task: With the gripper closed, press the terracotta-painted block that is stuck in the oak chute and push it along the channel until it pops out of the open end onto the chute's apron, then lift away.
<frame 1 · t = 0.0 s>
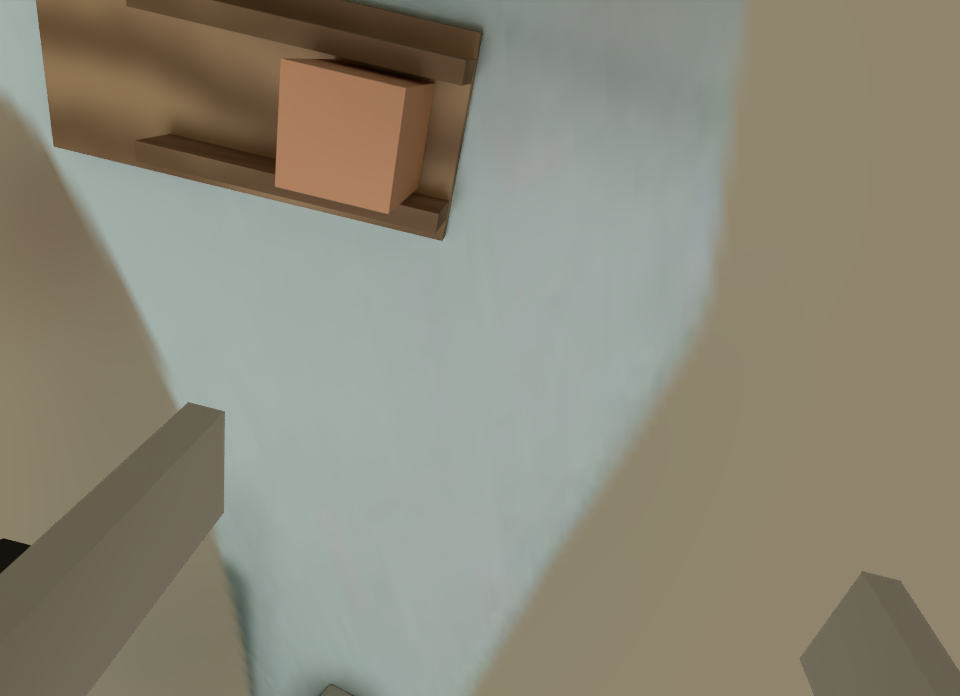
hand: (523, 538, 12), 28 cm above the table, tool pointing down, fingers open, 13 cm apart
chute: (256, 93, 36), on the table
block: (359, 132, 32), point 5 cm above the table, slide at 0.0 cm
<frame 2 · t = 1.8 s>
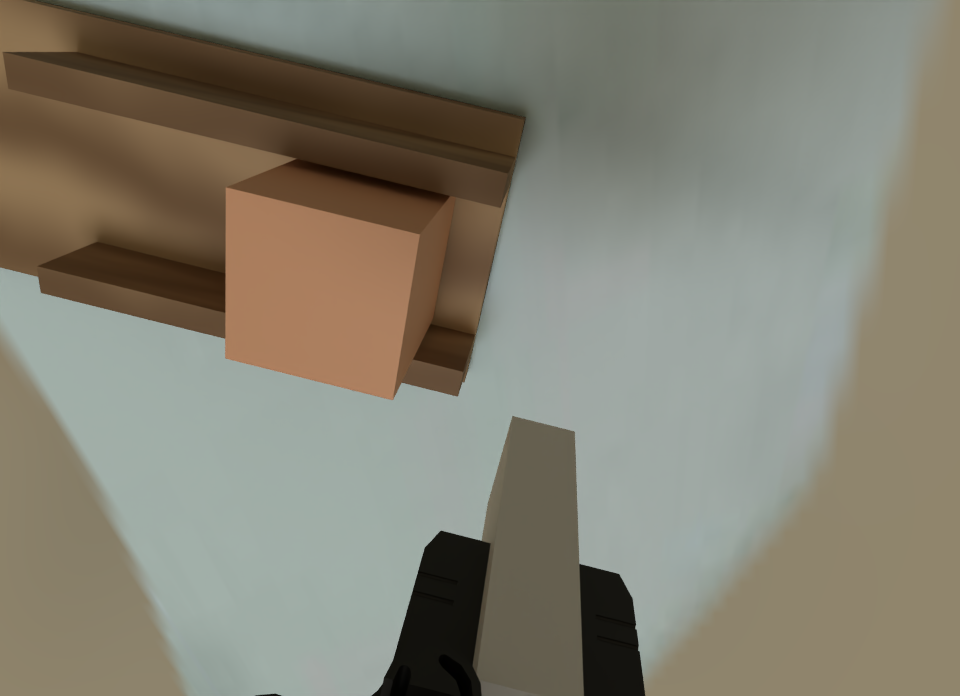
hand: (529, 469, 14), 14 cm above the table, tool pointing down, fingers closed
chute: (212, 189, 26), on the table
block: (350, 266, 22), point 5 cm above the table, slide at 0.0 cm
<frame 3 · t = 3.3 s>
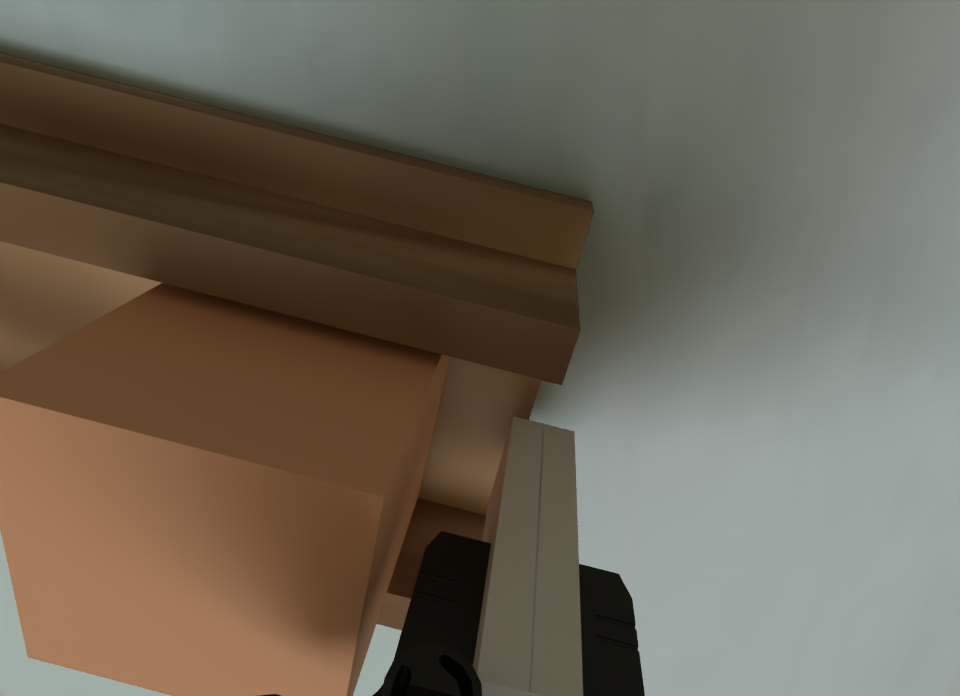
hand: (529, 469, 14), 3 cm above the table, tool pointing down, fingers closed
chute: (92, 295, 17), on the table
block: (273, 458, 13), point 5 cm above the table, slide at 0.4 cm, touching gripper
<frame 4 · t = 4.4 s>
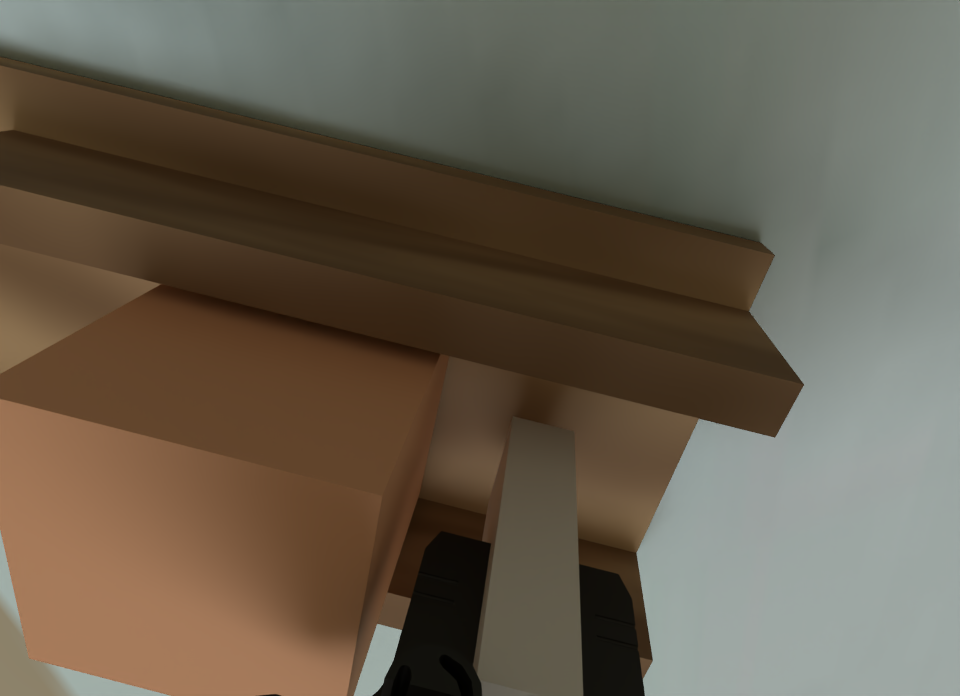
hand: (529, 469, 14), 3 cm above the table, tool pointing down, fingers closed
chute: (232, 332, 17), on the table
block: (273, 459, 13), point 5 cm above the table, slide at 4.6 cm, touching gripper
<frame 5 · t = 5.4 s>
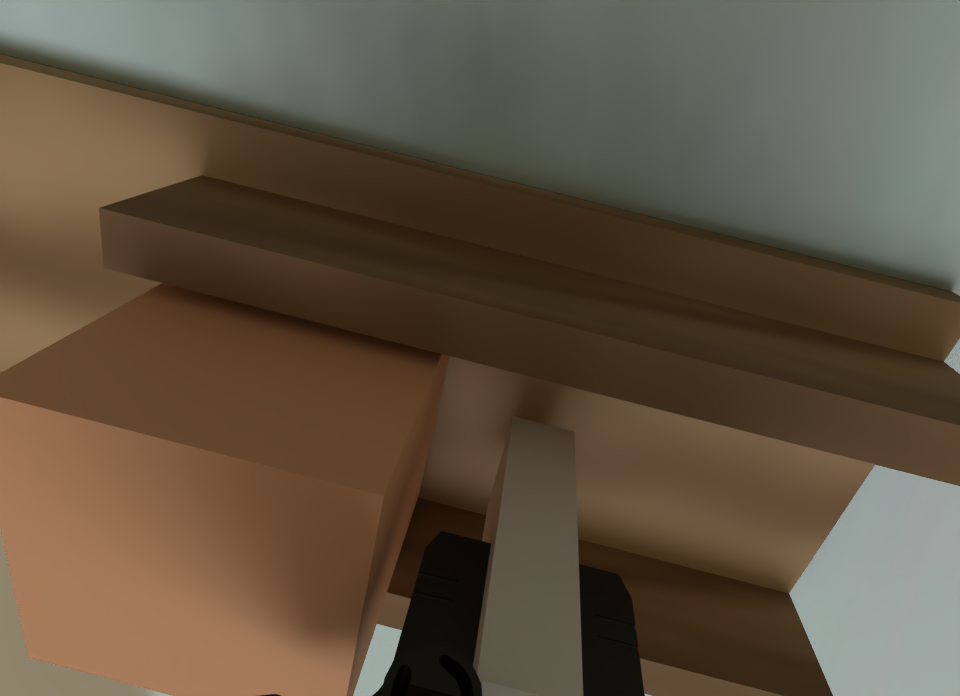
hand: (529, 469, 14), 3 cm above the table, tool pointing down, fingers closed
chute: (388, 371, 17), on the table
block: (273, 458, 13), point 5 cm above the table, slide at 9.3 cm, touching gripper
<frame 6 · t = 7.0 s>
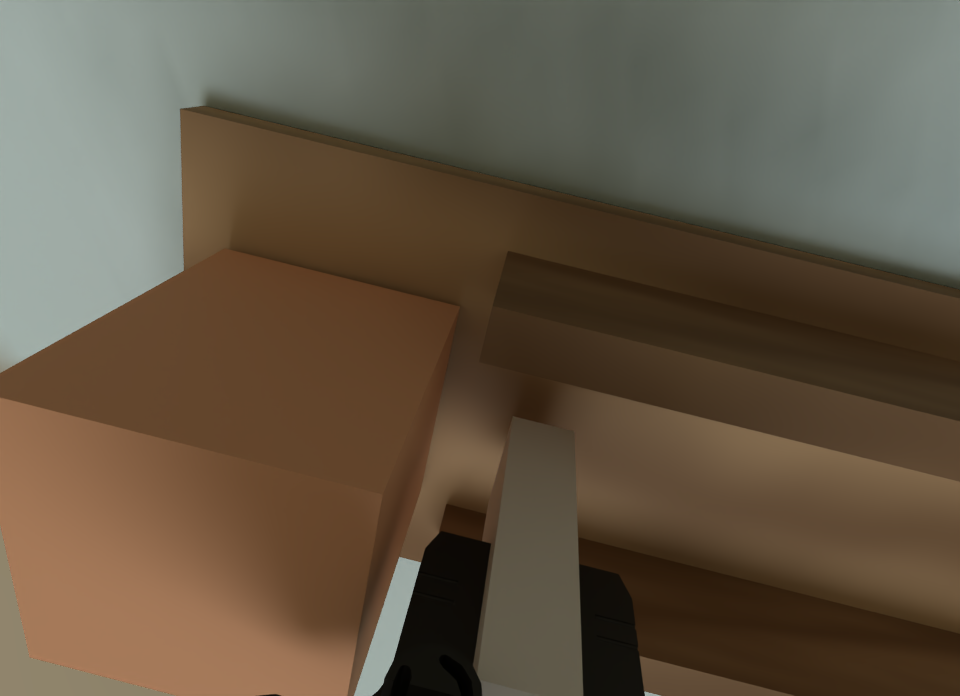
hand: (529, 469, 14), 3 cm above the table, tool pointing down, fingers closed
chute: (643, 434, 17), on the table
block: (273, 458, 13), point 5 cm above the table, slide at 16.8 cm, touching gripper
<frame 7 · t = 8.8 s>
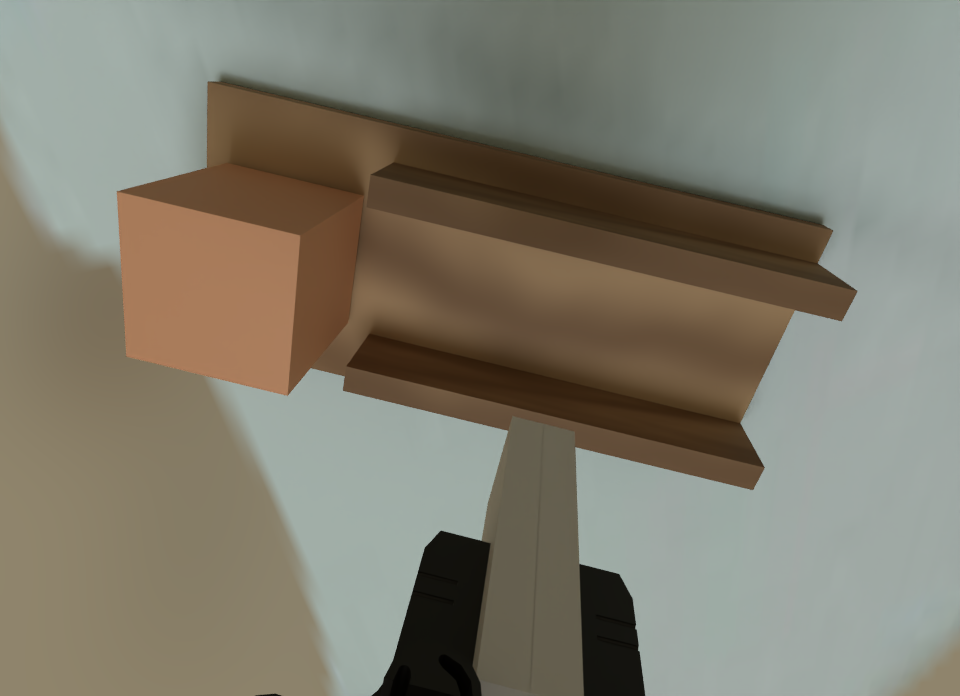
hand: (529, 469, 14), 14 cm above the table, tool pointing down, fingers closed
chute: (489, 285, 27), on the table
block: (254, 269, 23), point 5 cm above the table, slide at 17.0 cm
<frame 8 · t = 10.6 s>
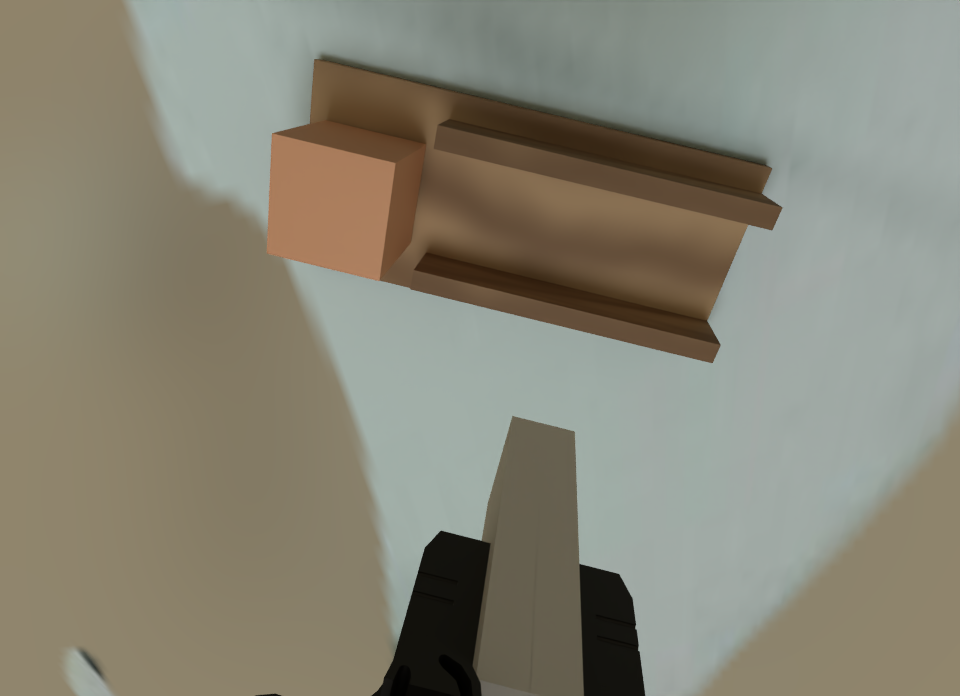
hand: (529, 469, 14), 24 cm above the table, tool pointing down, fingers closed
chute: (517, 214, 36), on the table
block: (350, 195, 32), point 5 cm above the table, slide at 17.0 cm
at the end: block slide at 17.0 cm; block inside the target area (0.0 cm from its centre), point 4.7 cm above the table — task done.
